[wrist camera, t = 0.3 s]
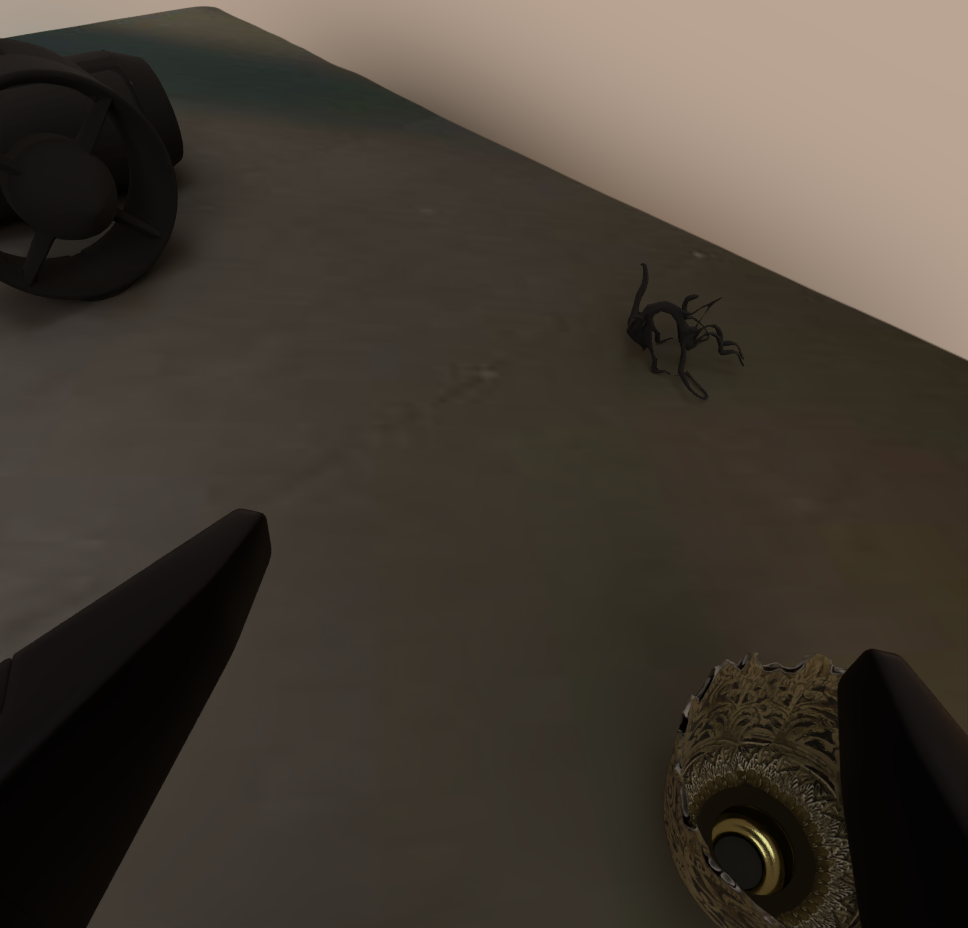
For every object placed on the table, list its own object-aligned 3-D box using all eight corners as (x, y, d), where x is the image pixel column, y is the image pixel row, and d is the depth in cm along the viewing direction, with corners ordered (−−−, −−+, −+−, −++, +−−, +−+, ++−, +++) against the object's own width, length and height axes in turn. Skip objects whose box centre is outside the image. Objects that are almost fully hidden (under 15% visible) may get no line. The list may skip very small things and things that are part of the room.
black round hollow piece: (-126, 112, 30) (-179, 65, 35) (29, 364, 41) (-28, 301, 46) (167, 50, 38) (90, 17, 42) (234, 277, 48) (166, 231, 53)
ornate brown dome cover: (824, 762, 25) (930, 661, 19) (885, 1018, 20) (1056, 986, 14) (623, 739, 25) (666, 634, 19) (631, 983, 20) (694, 938, 14)
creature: (729, 346, 44) (617, 308, 44) (772, 280, 40) (650, 237, 40) (730, 423, 39) (604, 379, 39) (780, 355, 35) (640, 306, 35)
